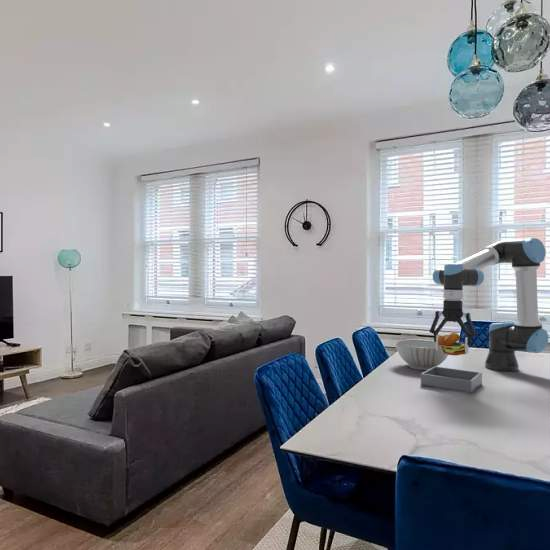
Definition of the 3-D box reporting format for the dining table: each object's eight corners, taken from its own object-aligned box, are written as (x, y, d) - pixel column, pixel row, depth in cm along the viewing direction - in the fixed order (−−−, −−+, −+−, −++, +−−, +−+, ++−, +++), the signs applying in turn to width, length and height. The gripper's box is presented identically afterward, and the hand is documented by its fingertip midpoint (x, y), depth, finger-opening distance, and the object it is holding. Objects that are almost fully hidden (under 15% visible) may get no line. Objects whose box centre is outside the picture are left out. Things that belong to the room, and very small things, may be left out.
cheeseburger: (470, 356, 182) (465, 332, 182) (444, 361, 184) (438, 338, 184) (465, 351, 192) (459, 329, 192) (440, 356, 194) (434, 334, 194)
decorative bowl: (423, 375, 204) (423, 349, 204) (383, 364, 228) (384, 341, 228) (463, 370, 217) (463, 345, 217) (421, 360, 241) (422, 338, 240)
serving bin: (434, 377, 202) (434, 366, 202) (481, 384, 190) (481, 372, 190) (420, 385, 187) (420, 373, 187) (471, 393, 175) (471, 381, 175)
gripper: (422, 298, 192) (421, 349, 192) (480, 301, 178) (479, 356, 178) (427, 298, 198) (426, 347, 198) (484, 300, 184) (483, 353, 184)
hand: (452, 351), depth 188 cm, fingers closed on cheeseburger, 11 cm apart
